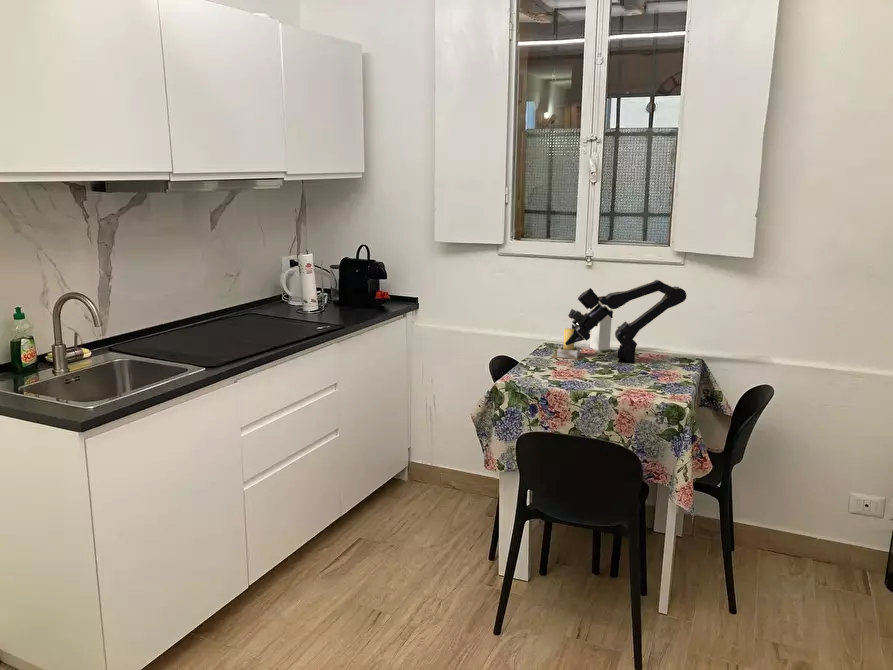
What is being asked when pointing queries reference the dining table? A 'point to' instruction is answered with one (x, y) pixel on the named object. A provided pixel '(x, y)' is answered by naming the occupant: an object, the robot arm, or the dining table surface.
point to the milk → (601, 333)
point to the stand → (568, 354)
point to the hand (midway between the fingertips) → (565, 343)
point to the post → (567, 335)
